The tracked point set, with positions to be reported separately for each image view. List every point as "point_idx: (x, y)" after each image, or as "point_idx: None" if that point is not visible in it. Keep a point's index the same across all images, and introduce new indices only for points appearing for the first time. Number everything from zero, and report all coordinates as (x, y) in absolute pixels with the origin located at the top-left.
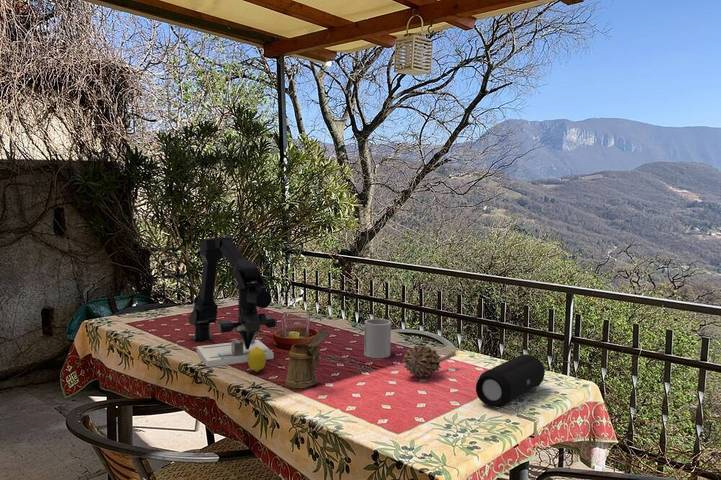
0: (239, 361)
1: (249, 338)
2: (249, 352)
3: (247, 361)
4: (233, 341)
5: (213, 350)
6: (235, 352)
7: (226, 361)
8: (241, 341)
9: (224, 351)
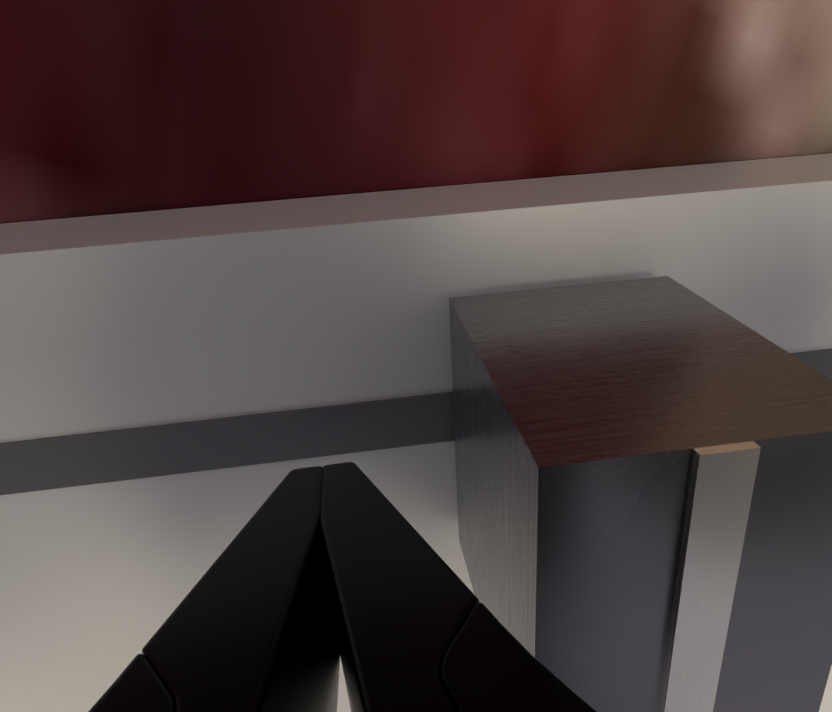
0: (525, 187)
1: (245, 693)
2: (267, 476)
3: (351, 195)
4: (799, 661)
5: (828, 700)
6: (677, 300)
7: (808, 170)
8: (560, 617)
9: None
